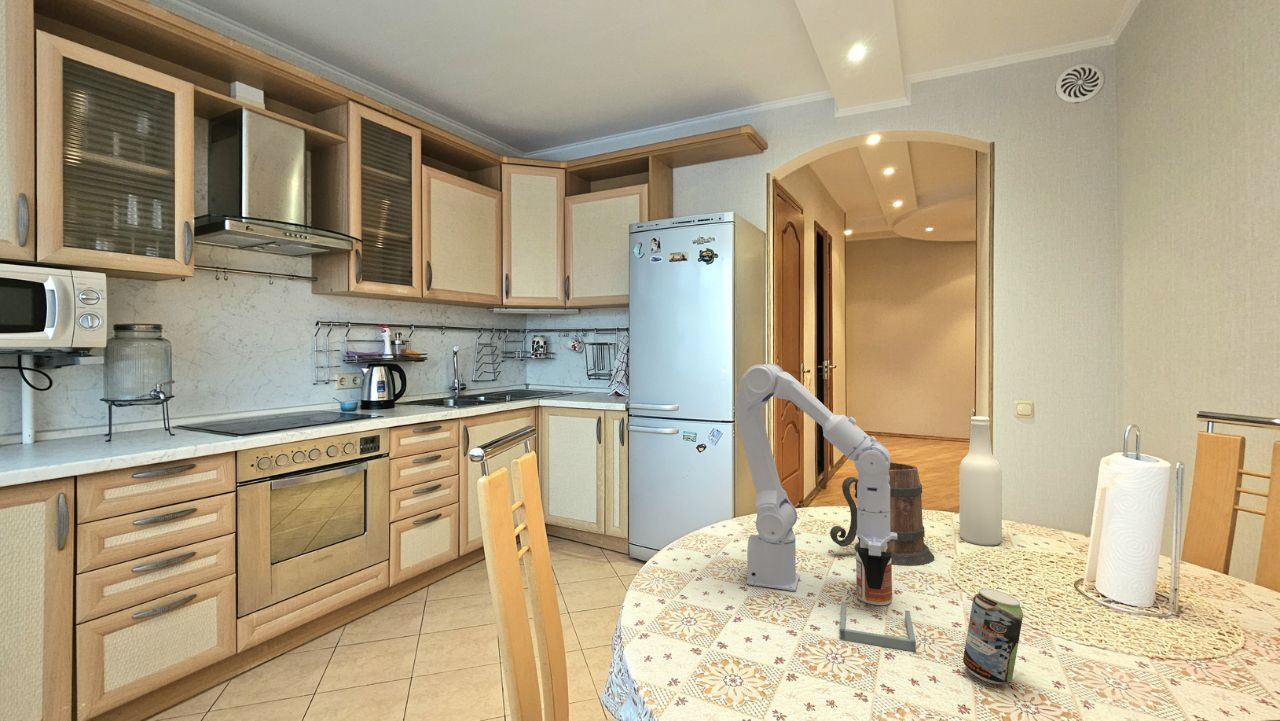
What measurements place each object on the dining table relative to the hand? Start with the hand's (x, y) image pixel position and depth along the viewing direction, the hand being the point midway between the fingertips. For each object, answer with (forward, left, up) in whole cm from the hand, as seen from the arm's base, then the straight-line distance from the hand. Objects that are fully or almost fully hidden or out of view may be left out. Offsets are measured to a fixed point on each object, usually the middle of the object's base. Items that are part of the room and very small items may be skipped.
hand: (873, 580), depth 104 cm
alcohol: (+25, +43, -4) cm, 50 cm away
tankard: (+2, +26, -4) cm, 26 cm away
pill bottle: (0, 0, -4) cm, 4 cm away
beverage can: (+15, -21, -4) cm, 26 cm away
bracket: (0, -12, -3) cm, 12 cm away
